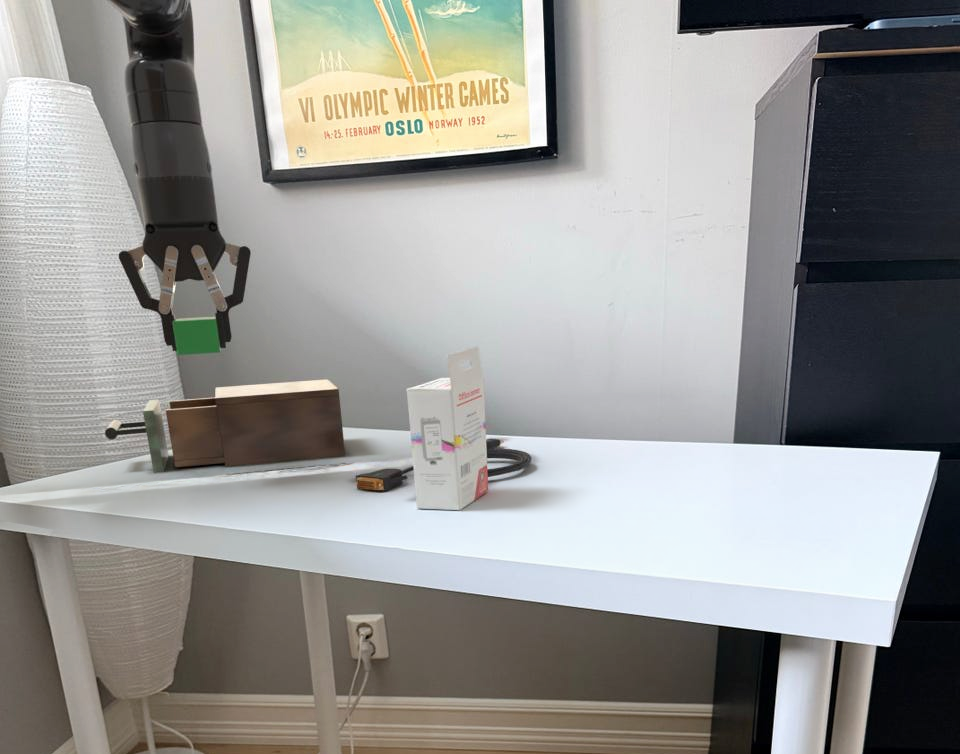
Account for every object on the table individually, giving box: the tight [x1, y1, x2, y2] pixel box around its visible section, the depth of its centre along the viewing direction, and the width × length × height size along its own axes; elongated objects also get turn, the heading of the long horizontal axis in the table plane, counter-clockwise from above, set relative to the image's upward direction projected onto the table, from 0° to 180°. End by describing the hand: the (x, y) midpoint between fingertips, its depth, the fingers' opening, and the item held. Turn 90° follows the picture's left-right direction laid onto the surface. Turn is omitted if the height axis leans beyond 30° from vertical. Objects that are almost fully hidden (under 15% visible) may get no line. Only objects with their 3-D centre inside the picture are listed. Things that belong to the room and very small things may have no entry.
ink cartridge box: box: [406, 345, 489, 511], centre depth 92 cm, size 9×5×15 cm, turn 160°
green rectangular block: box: [173, 316, 222, 356], centre depth 101 cm, size 4×8×3 cm, turn 14°
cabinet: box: [214, 379, 347, 475], centre depth 118 cm, size 15×13×9 cm
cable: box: [355, 438, 533, 493], centre depth 108 cm, size 14×28×2 cm, turn 146°
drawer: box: [104, 396, 225, 474], centre depth 116 cm, size 18×11×7 cm, turn 105°
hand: (199, 348), depth 102 cm, fingers closed on green rectangular block, 4 cm apart
